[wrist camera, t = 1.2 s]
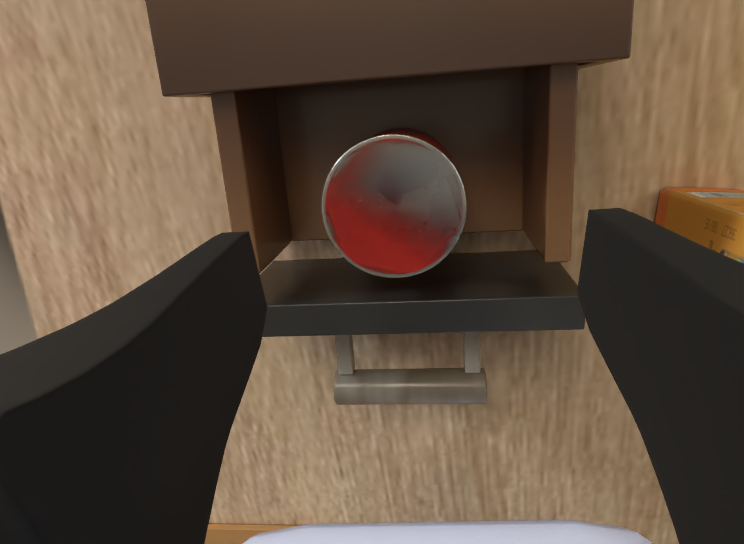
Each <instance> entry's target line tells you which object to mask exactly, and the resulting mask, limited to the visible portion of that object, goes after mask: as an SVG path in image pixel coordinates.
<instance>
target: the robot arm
mask: <svg viewBox="0 0 744 544" xmlns="http://www.w3.org/2000/svg"><path fill="white" fill-rule="evenodd" d="M577 292H578V296H579V299H580V302H581V306H582V309H583V312H584V315H585V318H586V321H587V324H588V327H589V330H590V332H591V334H592V336H593V338H594V340H595V342H596V344H597V346H598V348H599V350H600V352H601V354H602V356H603V358H604V360H605V362H606V364H607V366H608V368H609V370H610V372H611V374H612V376H613V378H614V380H615V382H616V384H617V386H618V388H619V390H620V391H621V393H622V395H623V397H624V399H625V401H626V403H627V405H628V407H629V409H630V411H631V413H632V415H633V417H634V419H635V422H636V424H637V426H638V428H639V431H640V433H641V435H642V438H643V440H644V443H645V446H646V448H647V451H648V454H649V457H650V459H651V462H652V465H653V467H654V470H655V473H656V475H657V478H658V481H659V484H660V487H661V490H662V493H663V496H664V498H665V501H666V504H667V507H668V510H669V513H670V516H671V519H672V522H673V525H674V528H675V531H676V534H677V537H678V541H679V544H744V263H741V262H739V261H737V260H734V259H732V258H729V257H727V256H724V255H722V254H720V253H718V252H715V251H713V250H711V249H709V248H706V247H704V246H702V245H700V244H698V243H696V242H694V241H691V240H689V239H687V238H685V237H683V236H681V235H679V234H677V233H675V232H673V231H671V230H669V229H666V228H664V227H662V226H660V225H658V224H656V223H654V222H652V221H650V220H648V219H646V218H643V217H641V216H639V215H637V214H634V213H632V212H629V211H627V210H624V209H621V208H613V209H597V210H589V212H588V219H587V226H586V233H585V240H584V247H583V255H582V262H581V269H580V276H579V283H578V290H577ZM266 313H267V304H266V299H265V295H264V291H263V287H262V283H261V279H260V275H259V270H258V266H257V262H256V258H255V254H254V250H253V246H252V242H251V237H250V233H249V231H245V232H229V233H221V234H219V235H217V236H215V237H213V238H211V239H210V240H208V241H207V242H205V243H204V244H202V245H201V246H199V247H198V248H196V249H195V250H193V251H192V252H190V253H189V254H187V255H186V256H184V257H183V258H181V259H180V260H179V261H177V262H176V263H174V264H173V265H171V266H170V267H168V268H167V269H165V270H164V271H162V272H161V273H160V274H158V275H156V276H155V277H153V278H152V279H150V280H149V281H147V282H145V283H144V284H142V285H141V286H139V287H137V288H136V289H134V290H133V291H131V292H129V293H128V294H126V295H125V296H123V297H121V298H120V299H118V300H116V301H115V302H113V303H111V304H109V305H108V306H106V307H104V308H102V309H100V310H99V311H97V312H95V313H93V314H91V315H89V316H87V317H85V318H83V319H81V320H79V321H77V322H75V323H73V324H71V325H69V326H67V327H65V328H63V329H60V330H58V331H56V332H53V333H51V334H49V335H46V336H44V337H42V338H39V339H37V340H35V341H32V342H30V343H28V344H26V345H23V346H21V347H19V348H16V349H14V350H11V351H9V352H6V353H3V354H1V355H0V544H205V539H206V533H207V529H208V524H209V519H210V514H211V509H212V504H213V499H214V495H215V490H216V485H217V481H218V477H219V472H220V468H221V464H222V459H223V455H224V451H225V447H226V443H227V440H228V437H229V433H230V430H231V427H232V424H233V421H234V418H235V416H236V413H237V410H238V407H239V404H240V402H241V399H242V396H243V393H244V390H245V388H246V385H247V382H248V379H249V376H250V374H251V371H252V368H253V365H254V362H255V359H256V356H257V353H258V350H259V347H260V344H261V339H262V334H263V330H264V324H265V318H266ZM243 544H653V543H652V542H650V541H649V540H647V539H646V538H644V537H643V536H641V535H640V534H638V533H636V532H634V531H632V530H629V529H627V528H625V527H618V526H611V525H604V524H597V523H590V522H583V521H576V520H518V521H457V522H395V523H334V524H305V525H300V526H294V527H289V528H284V529H278V530H273V531H267V532H262V533H259V534H257V535H255V536H253V537H251V538H249V539H248V540H247V541H245V542H244V543H243Z"/></svg>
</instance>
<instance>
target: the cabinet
mask: <svg viewBox="0 0 744 544" xmlns="http://www.w3.org/2000/svg"><path fill="white" fill-rule="evenodd" d="M145 1H146V6H147V12H148V17H149V23H150V28H151V34H152V39H153V45H154V50H155V56H156V61H157V67H158V72H159V78H160V83H161V89H162V94H163V96H165V97H211V94H210V93H223V92H235V91H247V90H259V89H271V88H283V87H295V86H307V85H319V84H331V83H344V82H356V81H368V80H380V79H392V78H404V77H416V76H428V75H440V74H453V73H465V72H477V71H489V70H501V69H513V68H525V67H537V66H549V65H561V64H574V63H578V69H580V68H585V67H589V66H594V65H599V64H603V63H608V62H613V61H617V60H622V59H626V58H629V57H630V52H631V37H632V22H633V7H634V0H145Z"/></svg>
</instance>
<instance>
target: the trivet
mask: <svg viewBox="0 0 744 544" xmlns="http://www.w3.org/2000/svg"><path fill="white" fill-rule="evenodd" d="M289 527H294V526H291V525H244V524H208V529H207V533H206V539H205V544H243V543H244V542H245V541H247V540H248V539H249V538H251V537H253V536H255V535H257V534H259V533H262V532H267V531H273V530H278V529H284V528H289Z"/></svg>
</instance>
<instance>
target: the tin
mask: <svg viewBox="0 0 744 544" xmlns="http://www.w3.org/2000/svg"><path fill="white" fill-rule="evenodd" d="M466 210H467V203H466V194H465V189H464V185H463V183H462V180H461V177H460V175H459V173H458V171H457V170H456V168H455V165H454V163H453V160H452V158H451V156H450V154H449V153H448V152H447V150H446V149H445V147H444V146H443V145H442V144H441V143H440V142H439V141H437V140H436V139H435V138H434V137H432V136H430V135H429V134H427V133H424V132H422V131H419V130H416V129H411V128H394V129H389V130H385V131H382V132H380V133H378V134H376V135H374V136H372V137H371V138H368V139H366V140H364V141H361V142H360V143H358V144H356V145H355V146H353V147H352V148H350V149H349V150H348V151H347V152H345V153H344V154H343V155H342V156H341V157H340V158H339V159H338V161H337V162H336V163H335V165H334V166H333V168H332V169H331V171H330V173H329V175H328V177H327V180H326V182H325V185H324V190H323V194H322V216H323V222H324V225H325V229H326V231H327V234H328V236H329V238H330V240H331V242H332V243H333V245H334V246H335V248H336V249H337V250H338V252H339V253H340V254H341V255H342V256H343V257H344V258H345V259H346V260H347V261H349V262H350V263H351V264H353V265H354V266H356V267H357V268H359V269H361V270H363V271H365V272H367V273H370V274H373V275H377V276H381V277H388V278H401V277H408V276H413V275H416V274H419V273H422V272H424V271H426V270H428V269H430V268H432V267H434V266H435V265H437V264H438V263H439V262H441V261H442V260H443V259H444V258H445V257H446V256H447V255H448V254H449V253H450V252H451V250H452V249H453V248H454V246H455V245H456V243H457V242H458V240H459V237H460V235H461V233H462V230H463V227H464V224H465V219H466Z"/></svg>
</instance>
